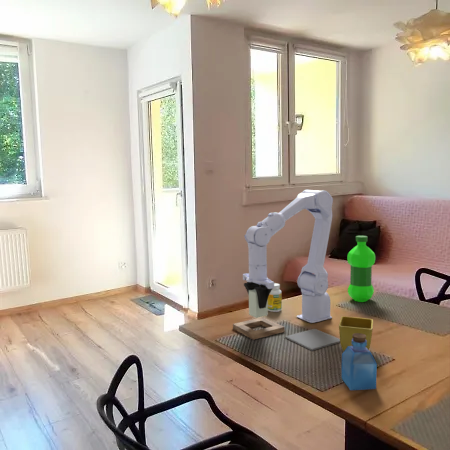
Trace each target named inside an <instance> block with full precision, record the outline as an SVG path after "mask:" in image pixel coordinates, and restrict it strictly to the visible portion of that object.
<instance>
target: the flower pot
mask: <svg viewBox="0 0 450 450" xmlns="http://www.w3.org/2000/svg"><path fill="white" fill-rule="evenodd" d="M373 326H374V319H373V318H372V319H371V318H365V317H354V316H343V315H342V316H340V320H339V324H338V330H339V331H338V333H339V334H338V335H339V339H340V343H339V344H340V346H341V350H342V351H343V352H344V351H345V349H346V348H347V347H348V346H353V345H352V339H353V336H352V335H353V334H354V333H361V334H365V335H366V339H365V340H366V341H367V346H365V347H366V348H367V349H368V350H369V351H370V348H371V343H372V335H373V328H374V327H373Z"/></svg>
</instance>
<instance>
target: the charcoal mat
mask: <svg viewBox="0 0 450 450" xmlns="http://www.w3.org/2000/svg"><path fill="white" fill-rule="evenodd" d="M285 339H286V340H288V341H291V342H292V343H294V344H297V345H298V346H302V347H303V348H305V349H308V350H309V351H316V350H319V349H323V348H326V347H330V346H333V345H337V344H341V343H340V338H338V337H336V336H334V335H332V334H330V333H326V332H324V331H321V330H319V329H318V328H313V329H308V330H305V331H304V330H303V331H300V332H296V333H292V334H289V335H286V336H285Z"/></svg>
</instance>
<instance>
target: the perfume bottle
mask: <svg viewBox="0 0 450 450" xmlns="http://www.w3.org/2000/svg"><path fill="white" fill-rule="evenodd" d="M352 336H353V339H352V345H353V346H348V347H347V348H346V349H345V351H343V352H342V354H341V380H342V381H343V383H344V384H345V386H347V387H348V389H349V391H361V390H362V391H365V390H377V377H378V376H377V372H378V371H377V367H378V365H377V362H376V359H375V358H374V356H373V354H372V353H371V351H370V349H369V350H368V349H367V348H366V347H365V346H367V341H366V340H365V339H366V335H365V334H361V333H354V334H353V335H352Z"/></svg>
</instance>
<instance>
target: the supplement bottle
mask: <svg viewBox="0 0 450 450" xmlns="http://www.w3.org/2000/svg"><path fill="white" fill-rule="evenodd" d="M280 288H281V284H280V283H276V282H274V288H273V289H272V290H271V292H270V294H269V297H268V312H271V313H278V312H281V311H282V309H283V307H282V301H283V299H282V290H281V289H280Z"/></svg>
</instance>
